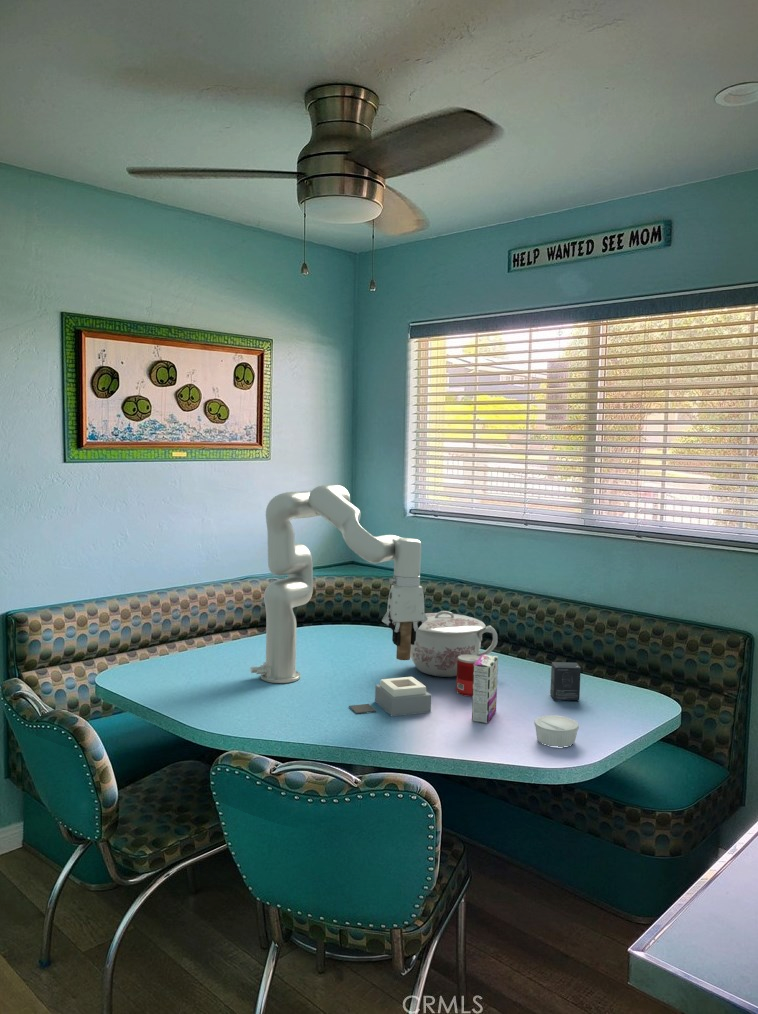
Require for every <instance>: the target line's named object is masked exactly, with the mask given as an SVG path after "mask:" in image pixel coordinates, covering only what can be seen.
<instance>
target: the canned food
mask: <svg viewBox="0 0 758 1014" xmlns="http://www.w3.org/2000/svg"><path fill="white" fill-rule="evenodd" d="M479 658H480V656H477V655H469V654H465V655H460V656H458V659H457V676H456V687H455V688H456V690H455V691H456V692H457V693H458V694H459V695H461V696H464V695H466V697H473V666H474V664H475V663H476V661H477V660H478V659H479Z"/></svg>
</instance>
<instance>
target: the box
mask: <svg viewBox="0 0 758 1014" xmlns="http://www.w3.org/2000/svg"><path fill="white" fill-rule="evenodd" d="M550 671H551V672H550V673H551V675H550V692H549V693H550V694H551V695H550V696H551V698H552V697H553V698H552V699H554V700H553V701H558V700H579V701H580V696H581V695H580V693H581V692H580V691H581V690H580V689H581V674H582V673H581V672H582V671H581V666H580V665H579V664H578V663H577V662H562V661H561V662H560V661H559V662H558V661H557V662H556V661H552V662H551V669H550Z"/></svg>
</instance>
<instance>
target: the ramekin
mask: <svg viewBox="0 0 758 1014" xmlns="http://www.w3.org/2000/svg"><path fill="white" fill-rule="evenodd" d="M534 727H535V733H536V739H537V741H538V742H539V743H540V742H541V743H543V744H546V745H549V746H558V747H564V746H570V745H572V744H573V745H574V744H575V743H576V739H577V734H578V730H579V727H580V726H579V723H578V722H577V721H576V720H574V719H573V718H572V719H571V718H570V717H567V716H563V715H555V714H554V715H548V714H547V715H542V716H538V717H536V718H535V719H534ZM541 743H540V744H541ZM543 744H542V745H543ZM573 745H572V746H573Z"/></svg>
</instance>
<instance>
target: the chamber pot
mask: <svg viewBox="0 0 758 1014" xmlns="http://www.w3.org/2000/svg"><path fill="white" fill-rule="evenodd" d="M424 613H425V612H424ZM425 615H426V616H427V618H428V620H427V621H425V622H424V623H422V625H421V626H420V627H419V628H418V630H417V631H416V641H415V644H414V645H412V644H411V652H410V660H411V661H412V662H413V664H414V666H415V668H416V669H417V670H418V671H420V672H421V673H424V674H427V675H429V676H433V677H439V678H454V676H455V677H457V659H458V656H460V655H465V654H469V655H477V656H480V657H481V656H482V655H489V654H490V653H491V652H492V651H493V650H494V649H495V648H496V647H497V645H498V642H499V641H498V633H497V631H496V629H495V628H494V627H493V626H492V625H487V626H486V624H485V623H484V621H482V620H480V619H478V618H475V617H471V616H468V615H464V614H459V613H453V612H451V611H448V610H441V611H438V612H427V613H425ZM484 633H490V634H491V635H492V642H491V644H490V646H489V647H488V648H487V649H485V650H483V651H481V643H482V641H483V634H484ZM480 651H481V652H480Z"/></svg>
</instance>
